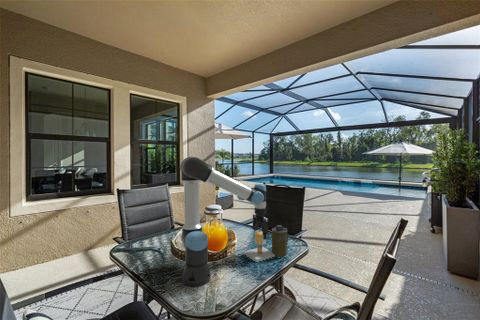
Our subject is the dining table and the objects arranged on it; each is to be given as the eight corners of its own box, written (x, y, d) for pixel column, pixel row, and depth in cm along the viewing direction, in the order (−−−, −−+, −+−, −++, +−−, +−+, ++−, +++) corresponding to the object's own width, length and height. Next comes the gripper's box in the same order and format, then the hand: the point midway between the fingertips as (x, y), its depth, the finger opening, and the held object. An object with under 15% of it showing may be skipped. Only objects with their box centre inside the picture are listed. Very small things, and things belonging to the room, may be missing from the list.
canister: (275, 260, 141) (276, 228, 141) (268, 253, 151) (269, 224, 151) (290, 257, 144) (291, 227, 144) (282, 251, 154) (283, 222, 154)
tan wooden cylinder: (259, 245, 141) (259, 236, 141) (252, 241, 147) (252, 232, 147) (267, 242, 145) (267, 233, 145) (261, 239, 151) (261, 230, 151)
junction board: (256, 262, 136) (256, 252, 136) (243, 254, 148) (243, 244, 147) (275, 256, 145) (276, 246, 145) (262, 249, 156) (262, 240, 156)
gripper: (274, 209, 140) (274, 245, 140) (255, 204, 156) (255, 236, 157) (265, 211, 135) (265, 248, 136) (246, 205, 152) (246, 238, 152)
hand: (260, 242), depth 146 cm, fingers closed on tan wooden cylinder, 7 cm apart
